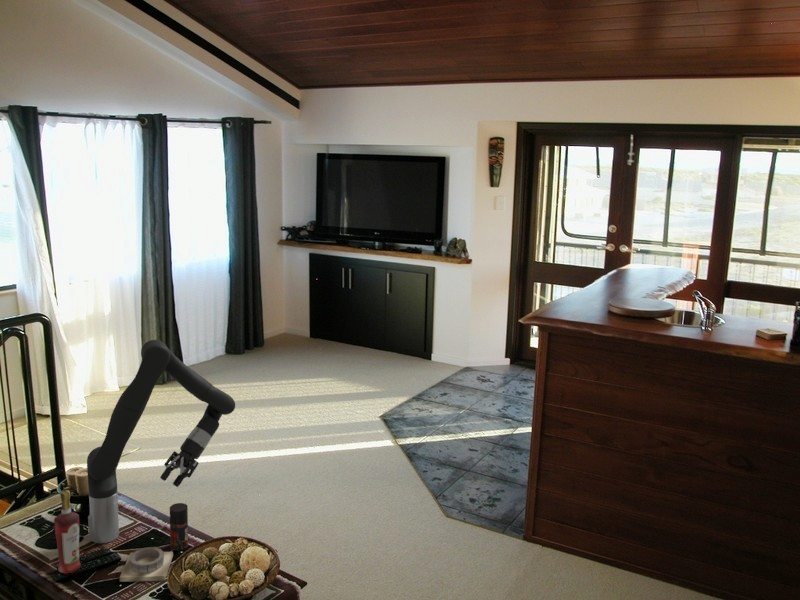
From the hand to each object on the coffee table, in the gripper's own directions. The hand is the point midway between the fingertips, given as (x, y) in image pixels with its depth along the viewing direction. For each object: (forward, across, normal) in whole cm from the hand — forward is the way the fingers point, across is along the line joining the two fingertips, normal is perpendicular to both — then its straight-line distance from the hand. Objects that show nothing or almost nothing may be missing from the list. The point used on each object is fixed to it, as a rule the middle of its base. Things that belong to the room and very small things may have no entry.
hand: (168, 482), depth 243 cm
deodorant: (+15, +2, +18) cm, 24 cm away
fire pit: (+26, +7, +8) cm, 28 cm away
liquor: (+39, -9, -6) cm, 40 cm away
